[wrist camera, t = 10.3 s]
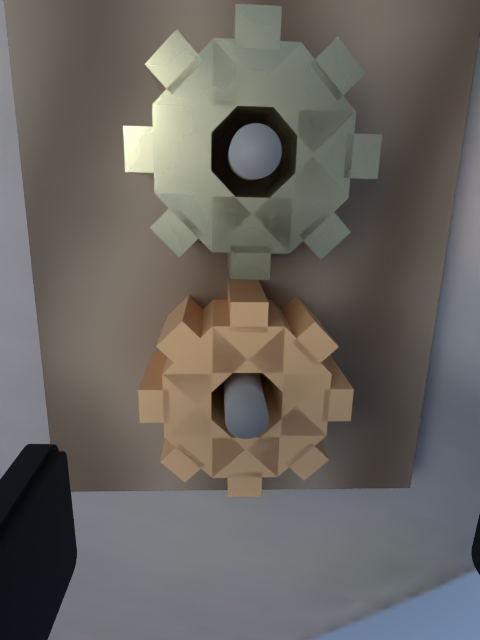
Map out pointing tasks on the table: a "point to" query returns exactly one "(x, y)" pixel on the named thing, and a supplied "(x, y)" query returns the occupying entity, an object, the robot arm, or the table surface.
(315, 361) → the tan gear
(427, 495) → the table surface
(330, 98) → the green gear
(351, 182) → the gear board
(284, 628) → the table surface
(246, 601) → the table surface
